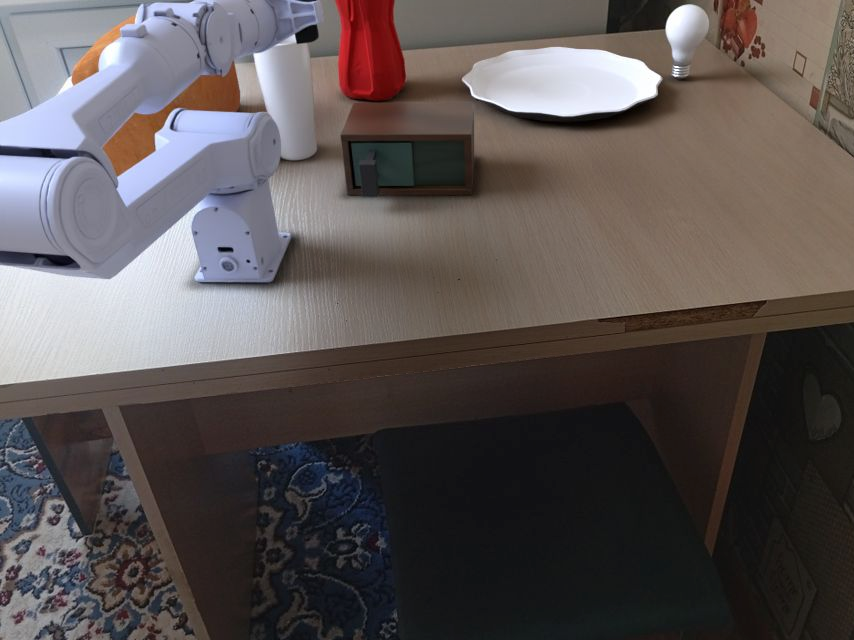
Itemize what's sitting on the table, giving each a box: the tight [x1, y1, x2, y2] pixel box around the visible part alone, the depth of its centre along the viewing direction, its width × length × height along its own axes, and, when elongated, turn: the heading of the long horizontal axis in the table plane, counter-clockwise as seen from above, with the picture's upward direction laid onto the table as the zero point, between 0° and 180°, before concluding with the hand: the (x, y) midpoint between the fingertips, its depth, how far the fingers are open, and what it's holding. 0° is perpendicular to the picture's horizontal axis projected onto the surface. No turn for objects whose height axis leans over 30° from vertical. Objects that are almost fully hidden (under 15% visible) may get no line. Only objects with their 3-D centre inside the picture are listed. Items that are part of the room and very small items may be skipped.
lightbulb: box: [665, 3, 710, 81], centre depth 120 cm, size 6×6×11 cm
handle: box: [351, 141, 415, 198], centre depth 90 cm, size 5×7×5 cm
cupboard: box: [339, 101, 475, 196], centre depth 96 cm, size 10×15×8 cm, turn 88°
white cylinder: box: [252, 34, 318, 161], centre depth 99 cm, size 7×7×15 cm
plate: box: [461, 46, 664, 123], centre depth 119 cm, size 29×29×2 cm
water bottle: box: [334, 0, 407, 102], centre depth 113 cm, size 9×11×25 cm
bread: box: [70, 14, 241, 177], centre depth 104 cm, size 14×26×16 cm, turn 179°
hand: (282, 12), depth 87 cm, fingers open, 7 cm apart
